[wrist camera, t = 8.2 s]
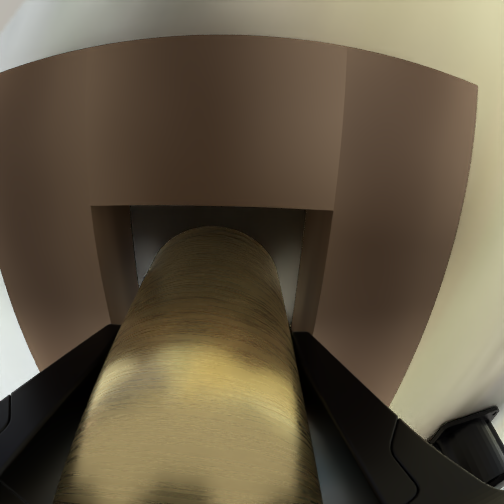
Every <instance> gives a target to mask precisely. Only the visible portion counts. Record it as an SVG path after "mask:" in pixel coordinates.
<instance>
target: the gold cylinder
mask: <svg viewBox="0 0 504 504" xmlns="http://www.w3.org/2000/svg"><path fill="white" fill-rule="evenodd" d="M52 504H323V500H322V494H321V489H320V483H319V478H318V472H317V467H316V461H315V456H314V450H313V445H312V440H311V434H310V429H309V424H308V419H307V413H306V408H305V403H304V398H303V393H302V388H301V383H300V378H299V373H298V368H297V363H296V358H295V353H294V348H293V343H292V338H291V334H290V329H289V324H288V319H287V314H286V310H285V305H284V300H283V296H282V291H281V286H280V282H279V277H278V273H277V269H276V266H275V264H274V262H273V260H272V258H271V257H270V255H269V254H268V252H267V251H266V250H265V249H264V248H263V247H262V246H261V245H260V244H259V243H258V242H257V241H255V240H254V239H253V238H251V237H250V236H248V235H246V234H244V233H242V232H240V231H237V230H234V229H230V228H226V227H219V226H203V227H197V228H193V229H189V230H186V231H184V232H182V233H180V234H178V235H176V236H175V237H173V238H171V239H170V240H169V241H168V242H167V243H166V244H165V245H164V246H163V247H162V248H161V249H160V251H159V252H158V254H157V255H156V257H155V259H154V261H153V263H152V265H151V267H150V268H149V270H148V272H147V274H146V276H145V278H144V280H143V282H142V284H141V286H140V288H139V290H138V292H137V294H136V296H135V298H134V300H133V302H132V304H131V306H130V308H129V310H128V312H127V314H126V317H125V319H124V321H123V323H122V325H121V327H120V329H119V331H118V334H117V336H116V338H115V340H114V342H113V344H112V347H111V349H110V351H109V353H108V356H107V358H106V360H105V362H104V365H103V367H102V369H101V372H100V374H99V376H98V379H97V381H96V383H95V386H94V388H93V391H92V393H91V395H90V398H89V400H88V403H87V405H86V408H85V410H84V413H83V416H82V418H81V421H80V423H79V426H78V429H77V431H76V434H75V437H74V440H73V442H72V445H71V448H70V451H69V454H68V456H67V459H66V462H65V465H64V468H63V471H62V474H61V477H60V480H59V484H58V487H57V490H56V493H55V497H54V500H53V503H52Z"/></svg>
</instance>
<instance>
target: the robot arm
mask: <svg viewBox="0 0 504 504" xmlns="http://www.w3.org/2000/svg"><path fill="white" fill-rule="evenodd" d="M120 327H121V325H119V324H108V325H106V326H105V327H104V328H102V329H101V330H99V331H98V332H96V333H95V334H93V335H92V336H91V337H89V338H88V339H86V340H85V341H83V342H82V343H81V344H79V345H78V346H76V347H75V348H74V349H72V350H71V351H69V352H68V353H66V354H65V355H64V356H62V357H61V358H59V359H58V360H57V361H55V362H54V363H52V364H51V365H50V366H48V367H47V368H45V369H44V370H43V371H41V372H40V373H38V374H37V375H36V376H34V377H33V378H32V379H30V380H29V381H27V382H26V383H25V384H23V385H22V386H20V387H19V388H18V389H16V390H15V391H14V392H12V393H11V395H8V396H7V397H5V398H4V399H3V400H1V401H0V504H52V503H53V500H54V497H55V493H56V490H57V487H58V484H59V480H60V477H61V474H62V471H63V468H64V465H65V462H66V459H67V456H68V454H69V451H70V448H71V445H72V442H73V440H74V437H75V434H76V431H77V429H78V426H79V423H80V421H81V418H82V416H83V413H84V410H85V408H86V405H87V403H88V400H89V398H90V395H91V393H92V391H93V388H94V386H95V383H96V381H97V379H98V376H99V374H100V372H101V369H102V367H103V365H104V362H105V360H106V358H107V356H108V353H109V351H110V349H111V347H112V344H113V342H114V340H115V338H116V336H117V334H118V331H119V329H120ZM291 338H292V343H293V348H294V353H295V358H296V363H297V368H298V373H299V378H300V383H301V388H302V393H303V398H304V403H305V408H306V413H307V419H308V424H309V429H310V434H311V440H312V445H313V450H314V456H315V461H316V467H317V472H318V478H319V483H320V489H321V494H322V500H323V504H504V490H500V489H501V488H502V487H504V445H503V443H502V441H501V439H500V438H499V436H498V434H497V432H496V430H495V429H494V427H493V425H492V423H491V421H492V420H493V418H494V417H495V416H496V415H497V413H498V412H499V409H498V407H497V406H496V407H493V408H490V409H488V410H485V411H482V412H480V413H477V414H474V415H471V416H468V417H465V418H462V419H459V420H455V421H452V422H449V423H446V424H445V425H443V426H442V427H441V428H440V430H439V431H438V432H437V434H436V435H435V436H434V438H433V439H432V440H431V441H430V443H428V442H426V441H425V440H424V439H423V438H422V437H421V436H419V435H418V434H417V433H416V432H415V431H414V430H412V429H411V428H410V427H409V426H408V425H407V424H406V423H405V422H404V421H403V420H402V419H400V418H399V419H398V416H397V415H396V414H395V413H394V412H393V411H392V410H391V409H390V408H388V407H387V406H386V405H385V404H384V403H383V402H382V401H381V400H380V399H379V398H378V397H377V396H376V395H375V394H374V393H372V392H371V391H370V390H369V389H368V388H367V387H366V386H365V385H364V384H363V383H362V382H361V381H360V380H359V379H358V378H357V377H355V376H354V375H353V374H352V373H351V372H350V371H349V370H348V369H347V368H346V367H345V366H344V365H343V364H342V363H341V362H340V361H339V360H338V359H337V358H335V357H334V356H333V355H332V354H331V353H330V352H329V351H328V350H327V349H326V348H325V347H324V346H323V345H322V344H321V343H320V342H319V341H318V340H317V339H316V338H315V337H314V336H313V335H311V334H310V333H309V332H307V331H294V332H292V333H291Z"/></svg>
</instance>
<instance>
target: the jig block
mask: <svg viewBox="0 0 504 504" xmlns="http://www.w3.org/2000/svg"><path fill="white" fill-rule="evenodd" d="M477 94H478V86H477V85H475V84H473V83H470V82H468V81H465V80H463V79H460V78H457V77H455V76H452V75H449V74H447V73H444V72H441V71H438V70H435V69H432V68H429V67H426V66H423V65H420V64H416V63H413V62H410V61H406V60H403V59H399V58H395V57H391V56H387V55H383V54H379V53H375V52H371V51H366V50H362V49H357V48H352V47H346V46H341V45H335V44H329V43H323V42H316V41H309V40H300V39H291V38H281V37H269V36H251V35H188V36H171V37H159V38H149V39H140V40H132V41H125V42H118V43H112V44H106V45H100V46H95V47H90V48H85V49H80V50H75V51H71V52H67V53H63V54H59V55H55V56H51V57H48V58H44V59H40V60H37V61H34V62H30V63H27V64H24V65H21V66H18V67H15V68H12V69H9V70H6V71H4V72H1V73H0V269H1V273H2V276H3V279H4V283H5V286H6V289H7V292H8V295H9V298H10V301H11V304H12V307H13V309H14V312H15V315H16V318H17V320H18V323H19V325H20V328H21V330H22V333H23V335H24V338H25V340H26V342H27V345H28V347H29V349H30V352H31V354H32V356H33V358H34V360H35V363H36V365H37V367H38V369H39V371H40V372H41V371H43V370H44V369H45V368H47V367H48V366H50V365H51V364H52V363H54V362H55V361H57V360H58V359H59V358H61V357H62V356H64V355H65V354H66V353H68V352H69V351H71V350H72V349H74V348H75V347H76V346H78V345H79V344H81V343H82V342H83V341H85V340H86V339H88V338H89V337H91V336H92V335H93V334H95V333H96V332H98V331H99V330H101V329H102V328H104V327H105V326H106V325H108V324H119V325H122V323H123V321H124V319H125V317H126V314H127V312H128V310H129V308H130V306H131V304H132V302H133V300H134V298H135V296H136V294H137V292H138V290H139V286H138V279H137V272H136V264H135V256H134V247H133V238H132V228H131V217H130V205H196V206H241V207H270V208H294V209H306V215H305V224H304V233H303V242H302V250H301V259H300V267H299V275H298V282H297V290H296V297H295V305H294V312H293V319H292V326H291V330H290V334H291V333H292V332H294V331H307V332H309V333H310V334H311V335H313V336H314V337H315V338H316V339H317V340H318V341H319V342H320V343H321V344H322V345H323V346H324V347H325V348H326V349H327V350H328V351H329V352H330V353H331V354H332V355H333V356H334V357H335V358H337V359H338V360H339V361H340V362H341V363H342V364H343V365H344V366H345V367H346V368H347V369H348V370H349V371H350V372H351V373H352V374H353V375H354V376H355V377H357V378H358V379H359V380H360V381H361V382H362V383H363V384H364V385H365V386H366V387H367V388H368V389H369V390H370V391H371V392H372V393H374V394H375V395H376V396H377V397H378V398H379V399H380V400H381V401H382V402H383V403H384V404H385V405H386V406H387V407H389V405H390V403H391V402H392V400H393V398H394V396H395V394H396V392H397V390H398V388H399V386H400V384H401V382H402V380H403V378H404V376H405V374H406V371H407V369H408V367H409V365H410V363H411V361H412V358H413V356H414V354H415V352H416V349H417V347H418V345H419V342H420V340H421V338H422V335H423V333H424V330H425V328H426V325H427V323H428V320H429V317H430V315H431V312H432V310H433V307H434V304H435V301H436V298H437V296H438V293H439V290H440V287H441V284H442V281H443V278H444V274H445V271H446V268H447V265H448V261H449V258H450V255H451V251H452V247H453V244H454V240H455V236H456V232H457V228H458V224H459V220H460V216H461V211H462V207H463V202H464V197H465V192H466V187H467V182H468V176H469V170H470V163H471V157H472V149H473V142H474V133H475V123H476V111H477Z"/></svg>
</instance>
